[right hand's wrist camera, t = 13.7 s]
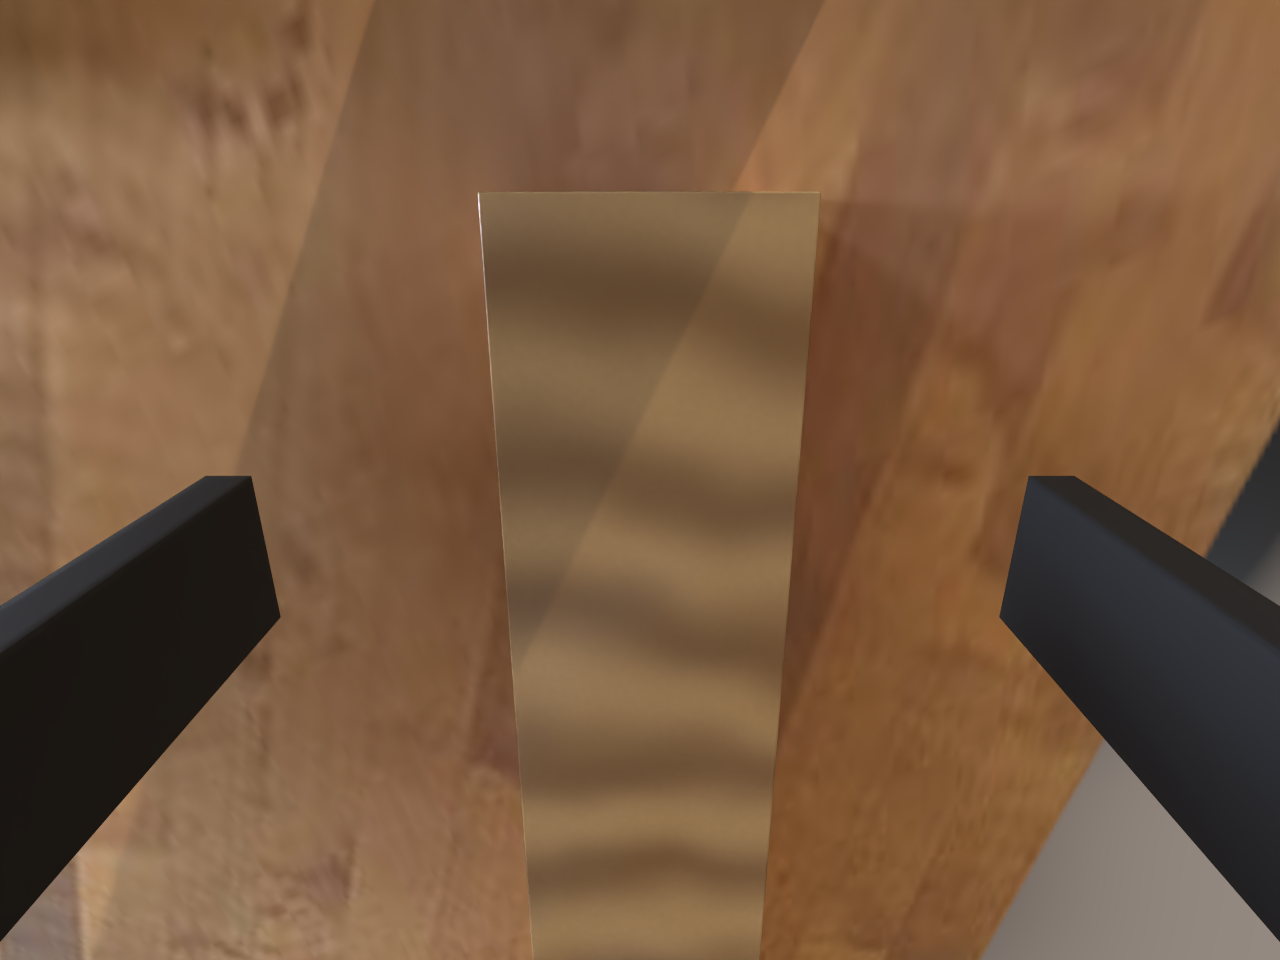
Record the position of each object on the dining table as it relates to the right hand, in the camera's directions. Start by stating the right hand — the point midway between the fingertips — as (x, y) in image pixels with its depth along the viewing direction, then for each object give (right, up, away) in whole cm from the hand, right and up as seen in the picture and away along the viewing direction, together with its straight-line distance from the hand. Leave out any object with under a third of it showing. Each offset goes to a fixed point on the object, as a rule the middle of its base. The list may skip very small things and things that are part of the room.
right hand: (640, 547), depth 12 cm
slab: (0, -18, +26) cm, 32 cm away
